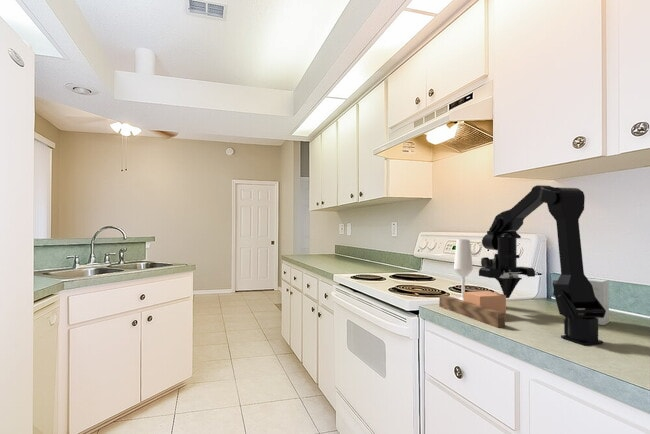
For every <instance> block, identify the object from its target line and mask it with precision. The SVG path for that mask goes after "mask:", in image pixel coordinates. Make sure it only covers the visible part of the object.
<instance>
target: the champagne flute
mask: <svg viewBox="0 0 650 434" xmlns="http://www.w3.org/2000/svg"><path fill="white" fill-rule="evenodd" d="M453 264H454V265H453V269H454V271H455V273H456V274H458V276H459V277H461V293H460V294H461V295H460V296H461V297H459V298H458V299H460V300H463V292H466V290H465V289H466V288H465V287H466V284H465V283H466V279H465V278H466V277H467V276H468V275H470V274H471V273H472V271H473V268H474V266H473V259H472V247H471V240H470V239H466V238H465V239H463V238H461V239H459V238H458V239H456V244H455V253H454V263H453Z"/></svg>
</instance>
